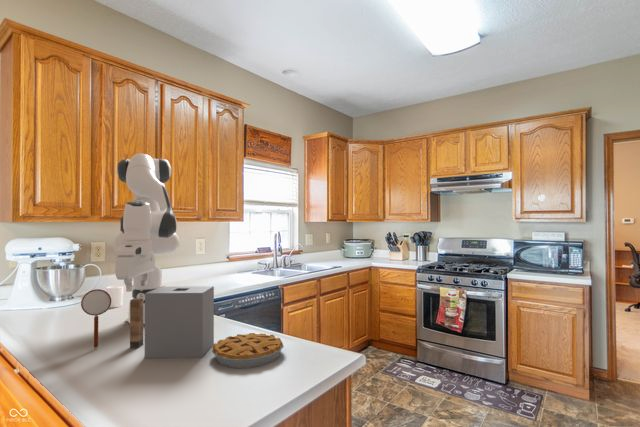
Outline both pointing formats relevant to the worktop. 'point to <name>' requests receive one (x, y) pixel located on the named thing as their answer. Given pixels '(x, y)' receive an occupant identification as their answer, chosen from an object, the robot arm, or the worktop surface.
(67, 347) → the worktop surface
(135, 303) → the long brown rectangular block
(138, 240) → the robot arm
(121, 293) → the white cup
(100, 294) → the magnifying glass
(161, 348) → the grey tissue box
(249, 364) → the pie
